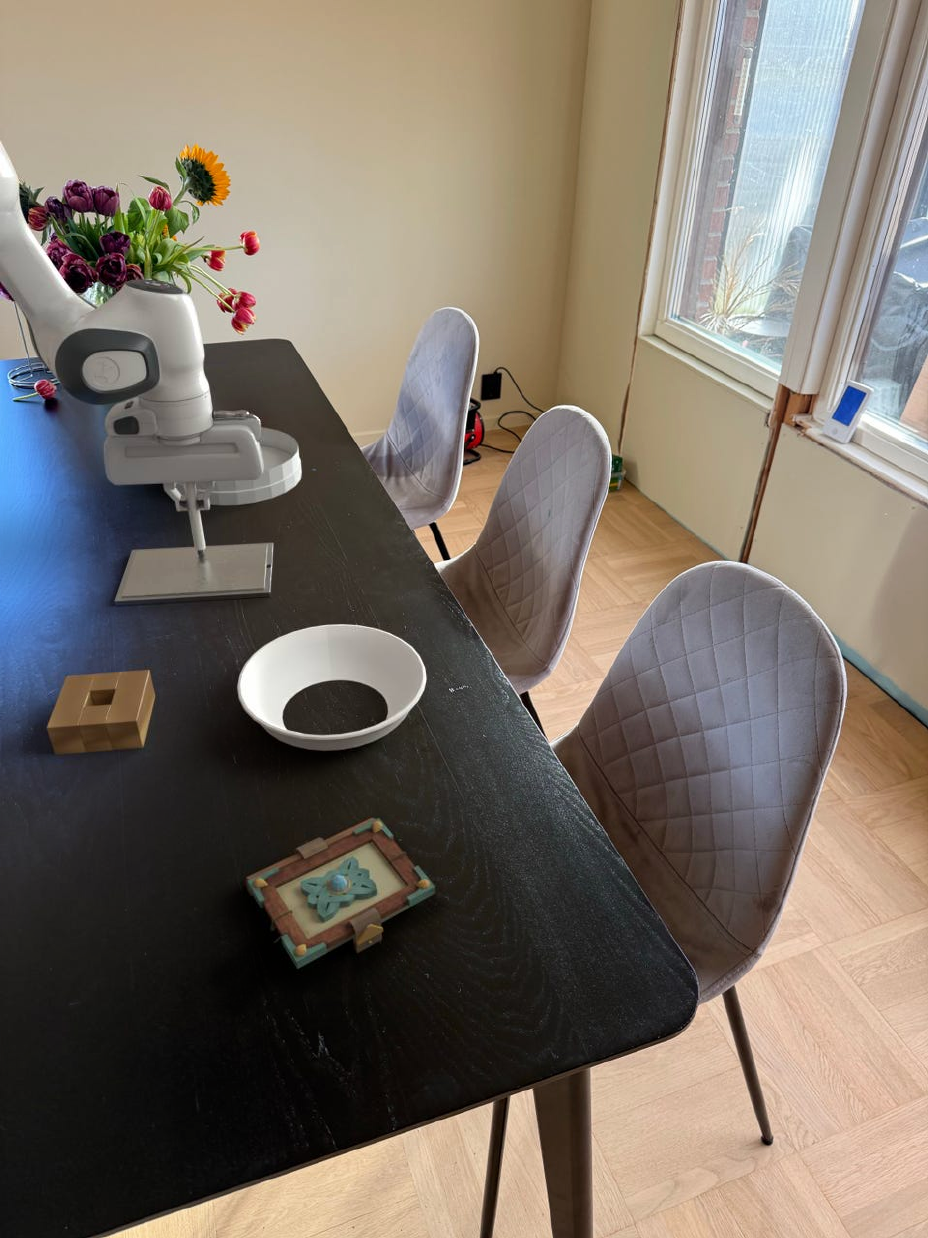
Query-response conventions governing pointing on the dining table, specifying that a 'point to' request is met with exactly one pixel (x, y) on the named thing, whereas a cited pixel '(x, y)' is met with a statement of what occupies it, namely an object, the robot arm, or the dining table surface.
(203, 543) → the stylus
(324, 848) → the decorative book
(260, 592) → the tablet
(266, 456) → the dish
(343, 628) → the white flared ring
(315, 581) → the dining table surface
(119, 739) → the holder
